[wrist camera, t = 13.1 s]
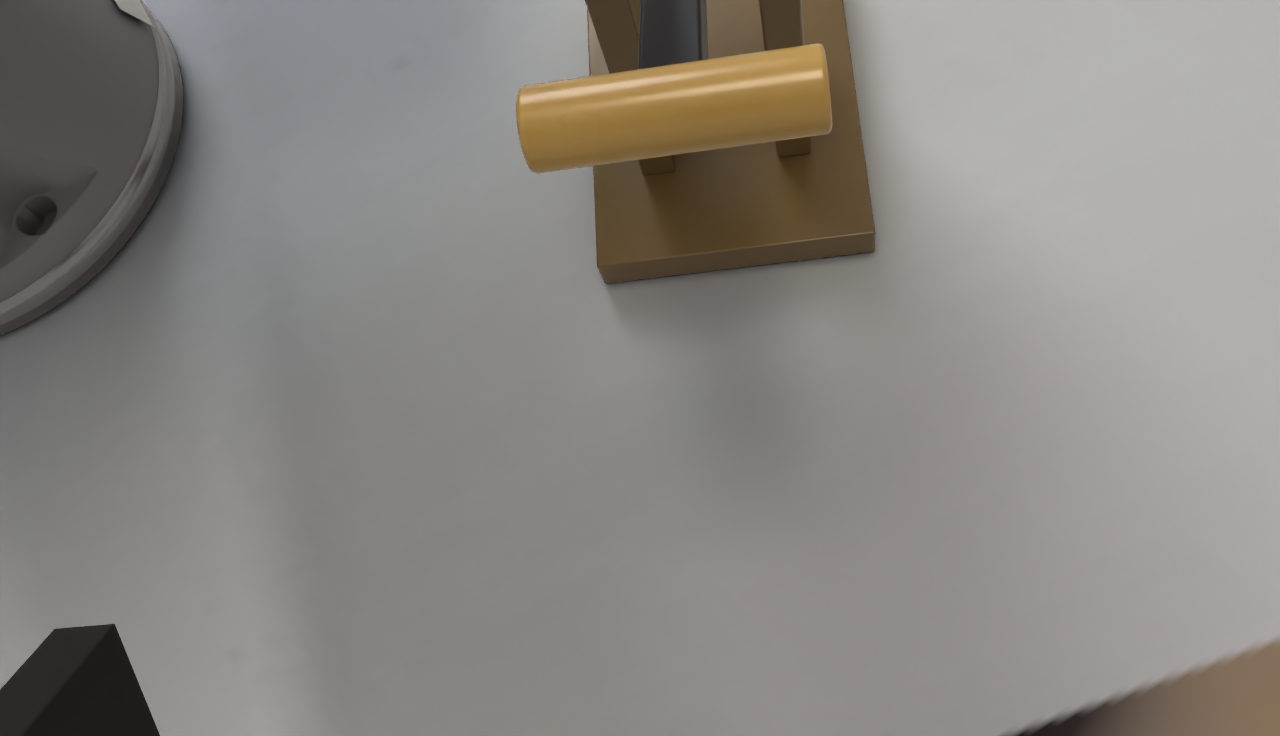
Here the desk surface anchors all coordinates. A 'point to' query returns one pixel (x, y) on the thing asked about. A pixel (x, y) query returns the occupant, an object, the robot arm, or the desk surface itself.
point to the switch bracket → (735, 160)
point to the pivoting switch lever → (675, 98)
